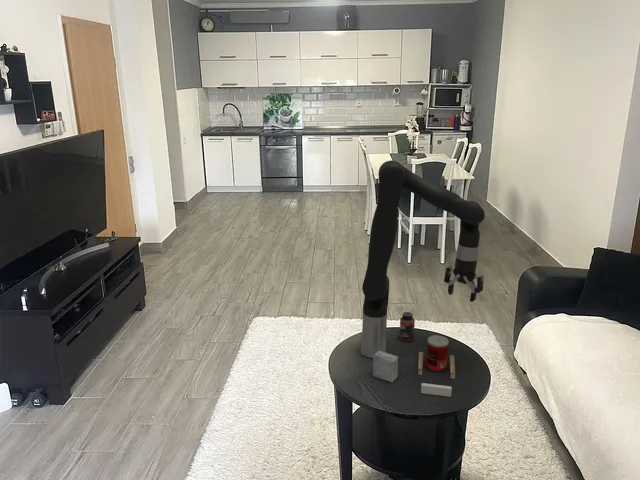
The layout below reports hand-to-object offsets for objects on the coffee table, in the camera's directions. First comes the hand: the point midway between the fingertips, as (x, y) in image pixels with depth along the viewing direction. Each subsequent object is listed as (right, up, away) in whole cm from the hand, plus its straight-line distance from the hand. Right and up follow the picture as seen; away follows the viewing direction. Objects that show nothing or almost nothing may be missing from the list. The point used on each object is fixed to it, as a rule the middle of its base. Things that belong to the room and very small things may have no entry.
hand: (461, 297), depth 189 cm
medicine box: (-29, -28, -5) cm, 41 cm away
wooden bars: (-9, -26, 0) cm, 28 cm away
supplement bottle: (-17, -19, +22) cm, 34 cm away
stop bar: (-13, -31, -15) cm, 37 cm away
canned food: (-9, -26, +1) cm, 28 cm away
